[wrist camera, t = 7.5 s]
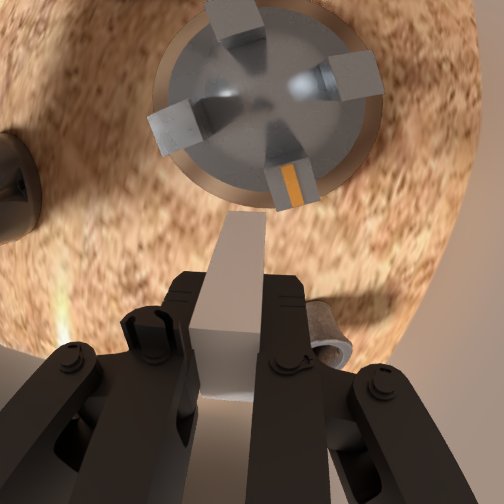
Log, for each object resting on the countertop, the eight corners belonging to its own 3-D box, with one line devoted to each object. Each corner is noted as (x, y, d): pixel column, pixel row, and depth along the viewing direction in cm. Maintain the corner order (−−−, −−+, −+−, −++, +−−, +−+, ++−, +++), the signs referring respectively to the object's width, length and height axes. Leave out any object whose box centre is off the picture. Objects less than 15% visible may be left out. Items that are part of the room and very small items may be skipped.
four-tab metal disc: (213, 202, 27) (194, 236, 21) (156, 52, 20) (118, 42, 14) (373, 159, 24) (403, 181, 18) (324, 0, 17) (340, -30, 11)
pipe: (242, 334, 38) (236, 383, 31) (323, 279, 33) (333, 328, 26) (274, 357, 40) (272, 404, 33) (352, 309, 35) (365, 358, 28)
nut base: (123, 117, 26) (113, 119, 24) (256, -34, 17) (254, -43, 15) (275, 239, 31) (274, 249, 29) (414, 104, 23) (424, 105, 21)
